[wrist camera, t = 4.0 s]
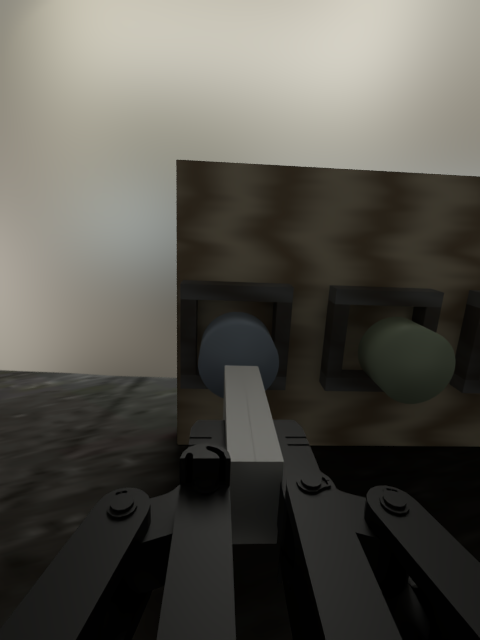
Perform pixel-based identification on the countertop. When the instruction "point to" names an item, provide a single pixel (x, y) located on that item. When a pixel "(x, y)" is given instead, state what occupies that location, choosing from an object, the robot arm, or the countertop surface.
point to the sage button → (406, 359)
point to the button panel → (331, 291)
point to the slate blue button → (236, 349)
